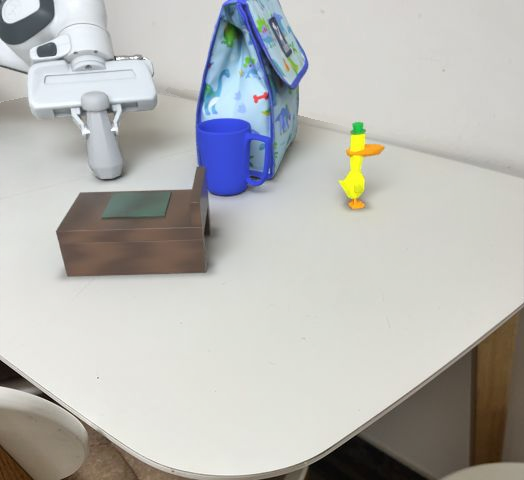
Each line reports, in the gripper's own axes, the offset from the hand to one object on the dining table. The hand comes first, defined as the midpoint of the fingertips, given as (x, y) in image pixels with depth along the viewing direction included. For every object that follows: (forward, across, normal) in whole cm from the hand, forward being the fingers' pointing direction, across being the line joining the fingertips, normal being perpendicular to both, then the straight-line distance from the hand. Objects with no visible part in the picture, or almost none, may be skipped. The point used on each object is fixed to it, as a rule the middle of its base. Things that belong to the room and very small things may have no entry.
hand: (101, 136), depth 92 cm
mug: (+14, -20, +4) cm, 24 cm away
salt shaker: (+4, 0, -5) cm, 7 cm away
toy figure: (+22, -35, +12) cm, 43 cm away
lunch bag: (+3, -26, -7) cm, 27 cm away
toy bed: (+26, -3, +16) cm, 30 cm away
